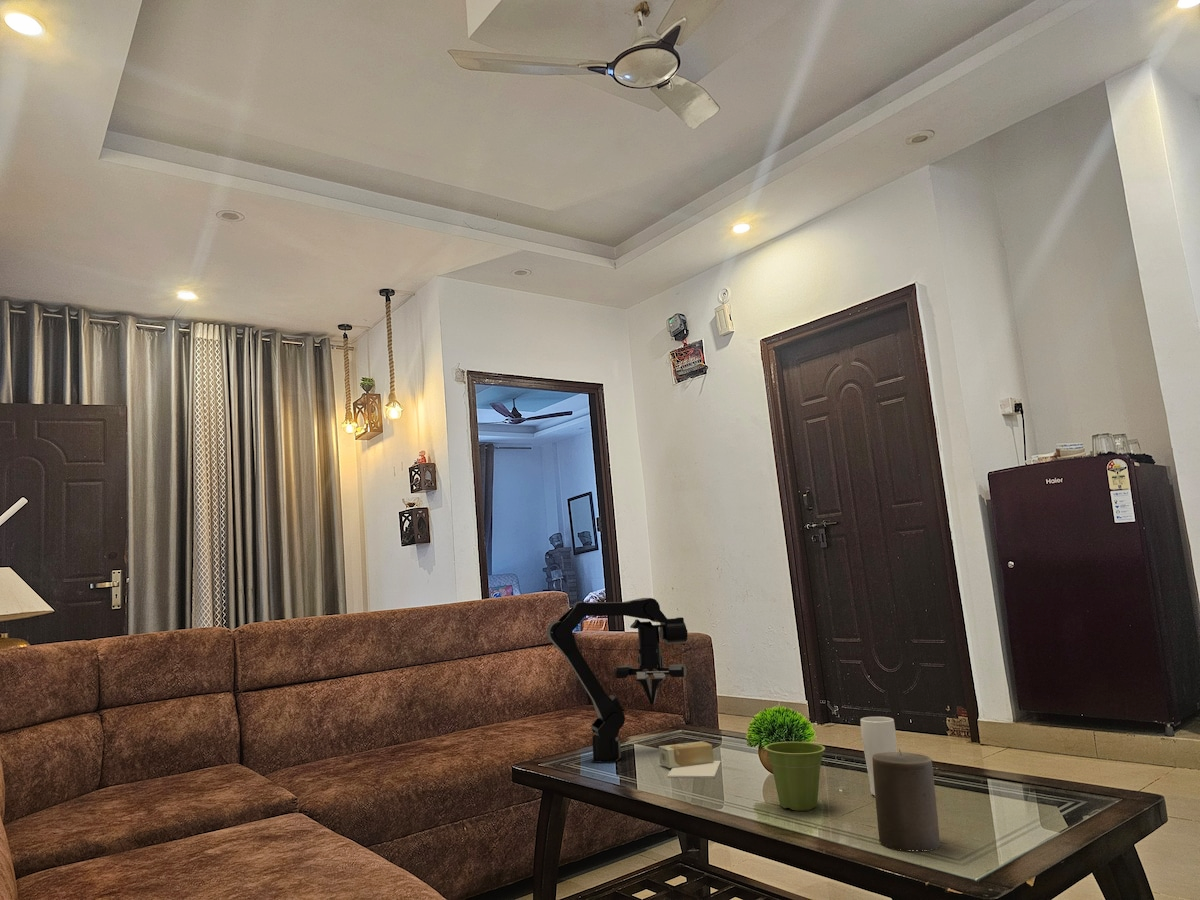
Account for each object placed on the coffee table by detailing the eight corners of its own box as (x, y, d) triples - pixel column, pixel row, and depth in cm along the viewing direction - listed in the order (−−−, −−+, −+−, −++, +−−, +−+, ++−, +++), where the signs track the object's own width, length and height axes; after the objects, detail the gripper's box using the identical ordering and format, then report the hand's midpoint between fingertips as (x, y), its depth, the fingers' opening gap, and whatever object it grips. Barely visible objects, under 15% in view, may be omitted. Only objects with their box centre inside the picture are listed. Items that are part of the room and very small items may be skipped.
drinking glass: (886, 789, 166) (878, 715, 169) (909, 797, 160) (901, 719, 163) (860, 794, 164) (852, 718, 166) (883, 801, 158) (875, 723, 160)
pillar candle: (884, 852, 129) (875, 755, 132) (874, 833, 139) (867, 743, 141) (947, 853, 127) (937, 755, 130) (933, 834, 137) (924, 743, 139)
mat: (667, 777, 186) (667, 775, 186) (677, 762, 201) (677, 760, 201) (714, 777, 183) (714, 775, 184) (720, 762, 199) (720, 760, 199)
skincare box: (657, 745, 199) (701, 740, 204) (658, 764, 199) (702, 758, 203) (668, 750, 193) (713, 744, 198) (669, 768, 193) (714, 762, 197)
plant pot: (792, 818, 150) (787, 755, 151) (757, 804, 160) (753, 745, 162) (843, 809, 154) (837, 748, 156) (805, 795, 165) (801, 739, 167)
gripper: (687, 641, 221) (691, 699, 218) (621, 643, 225) (624, 700, 223) (681, 644, 210) (685, 705, 208) (613, 646, 215) (616, 706, 212)
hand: (652, 704), depth 213 cm, fingers closed
